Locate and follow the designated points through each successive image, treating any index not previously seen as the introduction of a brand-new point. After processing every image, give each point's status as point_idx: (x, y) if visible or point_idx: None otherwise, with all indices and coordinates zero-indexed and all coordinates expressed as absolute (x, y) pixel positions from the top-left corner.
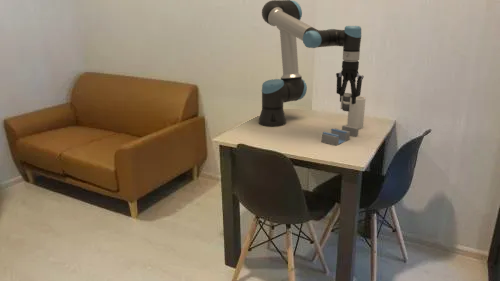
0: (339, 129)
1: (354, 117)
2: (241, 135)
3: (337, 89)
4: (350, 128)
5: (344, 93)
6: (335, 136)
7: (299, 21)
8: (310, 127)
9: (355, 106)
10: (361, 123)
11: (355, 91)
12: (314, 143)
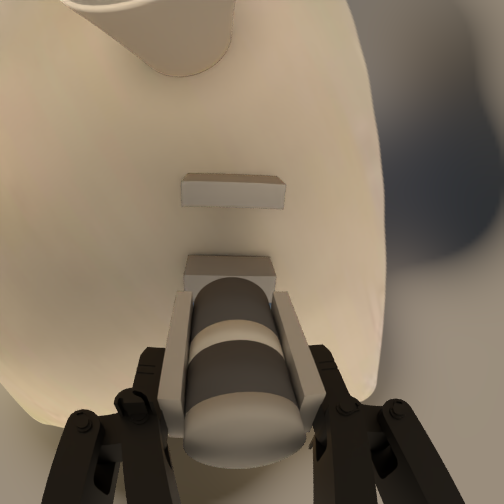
0: (210, 278)
1: (188, 57)
2: (25, 391)
3: (97, 485)
4: (242, 206)
5: (188, 451)
6: None
7: None
8: (32, 213)
9: (176, 29)
10: (230, 35)
11: (363, 466)
12: None
